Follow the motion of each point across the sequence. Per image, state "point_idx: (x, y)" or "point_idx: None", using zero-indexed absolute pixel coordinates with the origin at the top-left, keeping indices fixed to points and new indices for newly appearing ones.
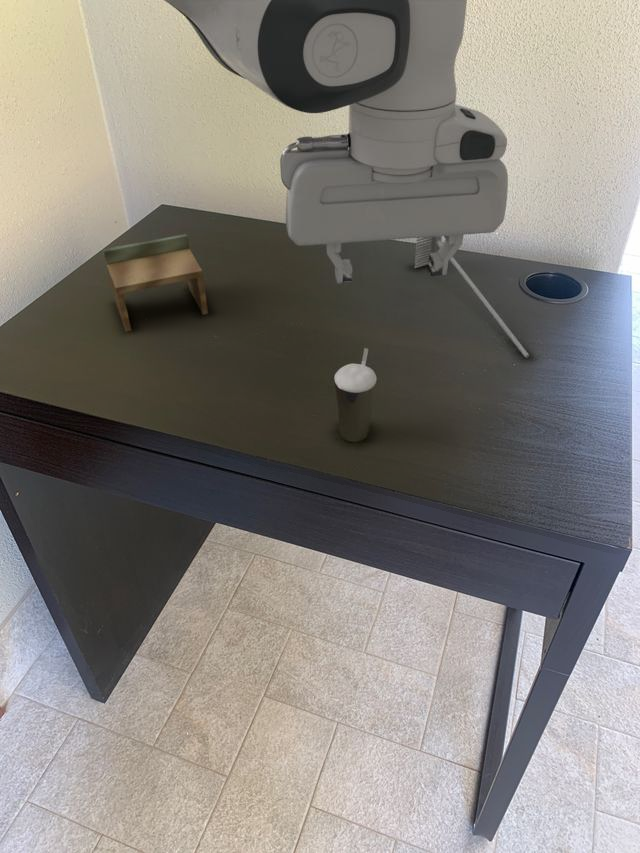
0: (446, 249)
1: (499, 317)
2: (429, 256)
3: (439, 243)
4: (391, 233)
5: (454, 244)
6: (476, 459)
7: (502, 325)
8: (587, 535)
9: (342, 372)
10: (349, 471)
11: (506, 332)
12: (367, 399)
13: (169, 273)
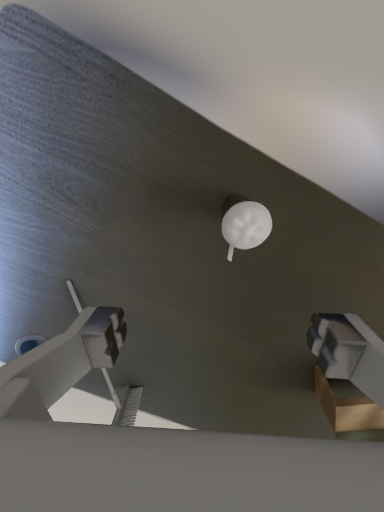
0: (56, 366)
1: None
2: (115, 359)
3: (118, 406)
4: (273, 482)
5: (12, 376)
6: (130, 154)
7: None
8: (33, 14)
9: (264, 230)
10: (252, 154)
11: (80, 308)
12: (234, 202)
13: (367, 408)
